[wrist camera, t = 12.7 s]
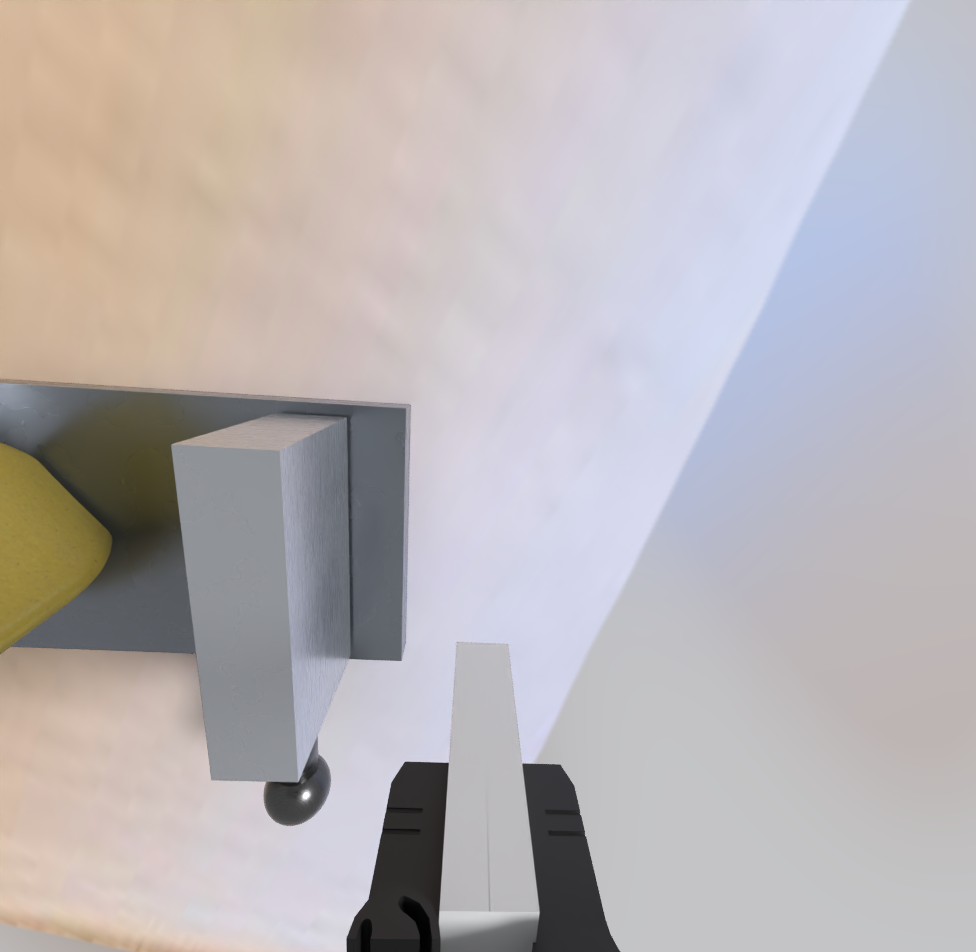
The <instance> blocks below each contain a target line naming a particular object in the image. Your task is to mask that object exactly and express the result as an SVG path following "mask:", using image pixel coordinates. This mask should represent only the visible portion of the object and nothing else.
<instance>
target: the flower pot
mask: <svg viewBox="0 0 976 952" xmlns="http://www.w3.org/2000/svg"><path fill="white" fill-rule="evenodd" d="M111 547H112V536H111V534H110V533H109V531H108V530H107V529H106V528H105V527H104V526H103V525H102V524H101V523H100V522H99V521H98V520H97V519H96V518H95V517H94V516H93V515H92V514H90V513H89V512H88V511H87V510H86V509H85V508H84V507H83V506H82V505H81V504H80V503H79V502H78V501H77V500H76V499H75V498H74V497H73V496H72V495H71V494H70V493H69V492H68V491H67V490H66V489H65V488H64V487H63V486H62V485H61V484H60V483H59V482H58V481H57V480H56V479H55V478H54V477H53V476H52V475H51V474H50V473H49V472H48V471H47V469H46V468H45V467H44V466H43V465H42V464H41V463H40V462H39V461H38V460H36V459H35V458H34V457H32V456H31V455H29V454H27V453H25V452H23V451H20V450H18V449H16V448H13V447H11V446H8V445H6V444H3V443H1V442H0V654H1V653H2V652H4V651H5V650H6V649H8V648H9V647H10V646H12V645H13V644H14V643H16V642H17V641H18V640H20V639H21V638H22V637H24V636H25V635H26V634H28V633H29V632H30V631H32V630H33V629H34V628H36V627H37V626H38V625H40V624H41V623H43V622H44V621H45V620H47V619H48V618H49V617H51V616H52V615H53V614H55V613H56V612H57V611H59V610H60V609H62V608H63V607H64V606H66V605H67V604H68V603H69V602H71V601H72V600H73V599H75V598H76V597H77V596H78V595H79V594H80V593H81V592H83V591H84V590H85V589H86V588H87V587H88V586H89V585H90V584H91V583H92V582H93V581H94V580H95V578H96V577H97V576H98V575H99V573H100V572H101V570H102V569H103V567H104V566H105V564H106V562H107V560H108V557H109V555H110V552H111Z"/></svg>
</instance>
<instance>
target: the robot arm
mask: <svg viewBox="0 0 976 952" xmlns="http://www.w3.org/2000/svg"><path fill="white" fill-rule="evenodd" d="M347 952H620V951H619V949H618V948H617V946H616V944H615V942H614V940H613V938H612V936H611V935H610V932H609V929H608V926H607V923H606V920H605V916H604V912H603V908H602V903H601V899H600V895H599V890H598V886H597V882H596V878H595V873H594V869H593V865H592V860H591V856H590V852H589V847H588V844H587V839H586V837H585V831H584V826H583V822H582V817H581V815H580V809H579V805H578V800H577V796H576V792H575V788H574V785H573V783H572V782H571V780H570V779H569V777H568V776H567V774H566V773H565V771H564V770H563V768H562V767H561V765H555V764H552V765H551V764H522V758H521V749H520V741H519V732H518V724H517V716H516V707H515V699H514V690H513V682H512V673H511V665H510V656H509V648H508V644H493V643H468V642H457V645H456V661H455V676H454V692H453V708H452V723H451V739H450V754H449V763H431V762H405V763H404V764H403V766H402V767H401V769H400V770H399V772H398V773H397V775H396V777H395V778H394V780H393V781H392V783H391V788H390V793H389V798H388V804H387V810H386V814H385V819H384V824H383V830H382V834H381V839H380V844H379V849H378V854H377V859H376V865H375V870H374V875H373V880H372V885H371V890H370V895H369V900H368V901H367V902H366V903H365V905H364V906H363V907H362V909H361V910H360V911H359V912H358V914H357V915H356V916H355V918H354V921H353V923H352V926H351V928H350V931H349V934H348V936H347Z"/></svg>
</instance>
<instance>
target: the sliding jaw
mask: <svg viewBox="0 0 976 952" xmlns="http://www.w3.org/2000/svg"><path fill="white" fill-rule="evenodd" d="M171 448H172V457H173V465H174V473H175V481H176V490H177V498H178V506H179V515H180V523H181V531H182V540H183V548H184V556H185V565H186V573H187V581H188V590H189V598H190V606H191V615H192V623H193V631H194V640H195V648H196V656H197V665H198V673H199V681H200V690H201V698H202V706H203V715H204V723H205V731H206V739H207V748H208V756H209V764H210V773H211V780H223V781H265V782H266V784H265V788H264V804H265V808H266V811H267V813H268V814H269V816H270V817H271V818H272V819H273V820H274V821H275V822H277V823H279V824H281V825H286V826H294V825H298V824H302V823H304V822H306V821H308V820H309V819H311V818H312V817H313V816H314V815H315V814H316V813H317V812H318V811H319V810H320V809H321V807H322V806H323V804H324V803H325V801H326V799H327V796H328V794H329V790H330V785H331V775H330V770H329V767H328V765H327V763H326V761H325V760H324V759H323V758H322V757H321V756H320V755H319V754H318V733H319V731H320V728H321V726H322V723H323V721H324V718H325V716H326V714H327V711H328V709H329V706H330V704H331V701H332V699H333V697H334V694H335V692H336V689H337V687H338V684H339V682H340V679H341V677H342V675H343V672H344V670H345V667H346V665H347V662H348V660H349V657H350V655H351V640H350V577H349V515H348V452H347V417H336V416H320V415H303V414H287V413H275V414H271V415H268V416H264V417H261V418H258V419H254V420H251V421H248V422H244V423H241V424H238V425H234V426H231V427H228V428H224V429H221V430H218V431H214V432H211V433H208V434H204V435H201V436H198V437H194V438H191V439H188V440H184V441H181V442H178V443H174V444H171Z"/></svg>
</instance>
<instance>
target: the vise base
mask: <svg viewBox="0 0 976 952" xmlns="http://www.w3.org/2000/svg"><path fill="white" fill-rule="evenodd" d="M410 411H411V405H407V404H391V403H375V402H359V401H344V400H328V399H312V398H296V397H280V396H264V395H248V394H232V393H216V392H200V391H184V390H168V389H152V388H136V387H120V386H104V385H88V384H72V383H56V382H40V381H24V380H8V379H0V442H1V443H3V444H6V445H8V446H11V447H13V448H16V449H18V450H20V451H23V452H25V453H27V454H29V455H31V456H32V457H34V458H35V459H36V460H38V461H39V462H40V463H41V464H42V465H43V466H44V467H45V468H46V469H47V471H48V472H49V473H50V474H51V475H52V476H53V477H54V478H55V479H56V480H57V481H58V482H59V483H60V484H61V485H62V486H63V487H64V488H65V489H66V490H67V491H68V492H69V493H70V494H71V495H72V496H73V497H74V498H75V499H76V500H77V501H78V502H79V503H80V504H81V505H82V506H83V507H84V508H85V509H86V510H87V511H88V512H89V513H90V514H92V515H93V516H94V517H95V518H96V519H97V520H98V521H99V522H100V523H101V524H102V525H103V526H104V527H105V528H106V529H107V530H108V531H109V533H110V534H111V536H112V547H111V552H110V555H109V557H108V560H107V562H106V564H105V566H104V567H103V569H102V570H101V572H100V573H99V575H98V576H97V577H96V578H95V580H94V581H93V582H92V583H91V584H90V585H89V586H88V587H87V588H86V589H85V590H84V591H83V592H81V593H80V594H79V595H78V596H77V597H76V598H75V599H73V600H72V601H71V602H69V603H68V604H67V605H66V606H64V607H63V608H62V609H60V610H59V611H57V612H56V613H55V614H53V615H52V616H51V617H49V618H48V619H47V620H45V621H44V622H43V623H41V624H40V625H38V626H37V627H36V628H34V629H33V630H32V631H30V632H29V633H28V634H26V635H25V636H24V637H22V638H21V639H20V640H18V641H17V642H16V643H14V644H13V645H12V646H10V647H33V648H61V649H89V650H116V651H144V652H171V653H196V648H195V640H194V631H193V623H192V615H191V606H190V598H189V590H188V581H187V573H186V565H185V556H184V548H183V540H182V531H181V523H180V515H179V506H178V498H177V490H176V481H175V473H174V465H173V457H172V448H171V444H174V443H178V442H181V441H184V440H188V439H191V438H194V437H198V436H201V435H204V434H208V433H211V432H214V431H218V430H221V429H224V428H228V427H231V426H234V425H238V424H241V423H244V422H248V421H251V420H254V419H258V418H261V417H264V416H268V415H271V414H275V413H287V414H303V415H320V416H336V417H347V452H348V515H349V577H350V640H351V655H350V657H349V659H364V660H392V661H401V660H402V656H403V652H404V648H405V643H406V602H407V554H408V506H409V459H410Z"/></svg>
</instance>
